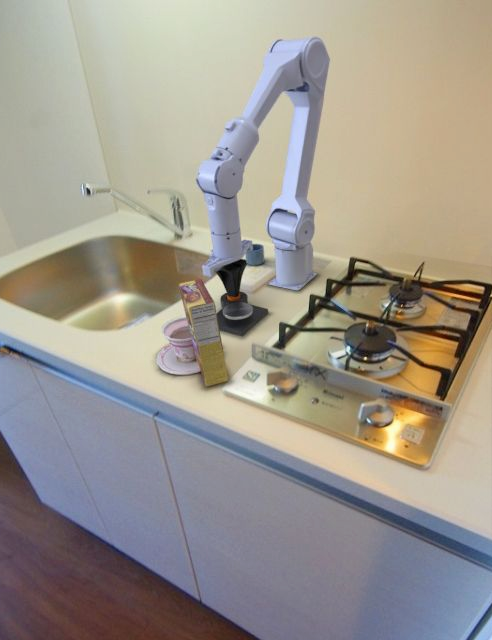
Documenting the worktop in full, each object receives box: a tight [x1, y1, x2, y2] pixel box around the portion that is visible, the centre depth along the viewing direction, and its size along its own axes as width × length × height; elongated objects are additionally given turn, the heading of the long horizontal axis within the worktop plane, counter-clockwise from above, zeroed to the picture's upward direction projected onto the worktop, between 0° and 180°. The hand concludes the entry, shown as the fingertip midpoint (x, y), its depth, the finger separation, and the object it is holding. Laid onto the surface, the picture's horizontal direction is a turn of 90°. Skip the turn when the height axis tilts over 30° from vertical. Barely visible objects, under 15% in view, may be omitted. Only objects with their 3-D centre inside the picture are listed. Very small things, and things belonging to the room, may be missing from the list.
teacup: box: [156, 316, 201, 376], centre depth 77 cm, size 12×12×6 cm
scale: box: [216, 290, 269, 337], centre depth 88 cm, size 11×10×3 cm
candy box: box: [178, 278, 229, 387], centre depth 71 cm, size 9×4×15 cm, turn 19°
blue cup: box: [244, 243, 266, 267], centre depth 109 cm, size 5×5×4 cm
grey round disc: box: [222, 302, 253, 320], centre depth 85 cm, size 6×6×1 cm
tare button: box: [227, 294, 241, 301], centre depth 90 cm, size 3×3×2 cm
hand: (233, 295), depth 90 cm, fingers closed, pressing on tare button
